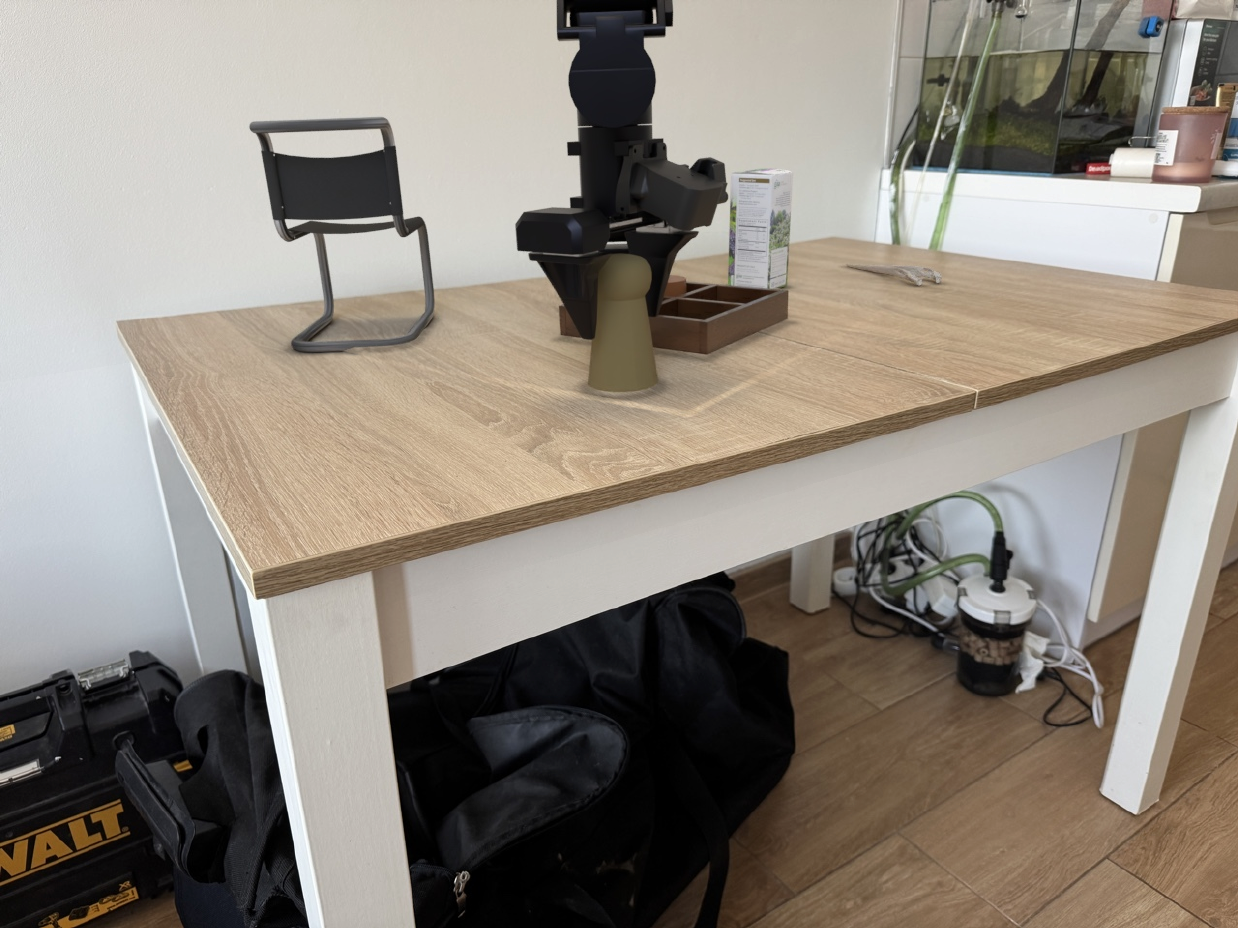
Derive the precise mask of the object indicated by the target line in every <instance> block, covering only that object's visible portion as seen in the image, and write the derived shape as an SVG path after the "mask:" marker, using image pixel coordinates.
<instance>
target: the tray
mask: <svg viewBox="0 0 1238 928" xmlns="http://www.w3.org/2000/svg"><path fill="white" fill-rule="evenodd" d="M789 292H790V291H789V290H788V289H782V288H773V289H769V288H757V287H745V286H733V285H728V284H720V283H708V282H698V281H697V282H696V281H686V293H685V294H682V295H679V296H676V297H671V296H664V297H663V301H662V304H661V307H660V311H659V314H658V316H657V317H648V318H649V324H650V331H651V338H652V344H653V349H655V348H656V349H661V350H671V351H678V352H683V353H684V352H686V353H693V354H701V355H709V354H711V353H714V352H716V351H718V350H720V349H723V348H726V347H727V346H729V345H731V344H734V343H737V342H739V341H741V340H744V339H745V338H747V337H750V336H753V335H754V334H756V333H758V332H761V331H763V330H765V329H768V328H770V327H772V326H775V325H776V324H779V323H781V322H783V321H785V320H788V317H789V315H788V314H789ZM558 315H559V333H560V334H559V335H560V336H564V337H571V338H572V337H573V338H579V339H580V338H581V336H580V334H579V332H578V331H577V329H576V327H575V325H574V323H573V321H572V319H571V318H570V316H569V314H568V312H567V310H566V308H565V306H564V305H563V304H560V305H558ZM581 339H582V338H581Z"/></svg>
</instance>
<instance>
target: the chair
mask: <svg viewBox="0 0 1238 928" xmlns="http://www.w3.org/2000/svg"><path fill="white" fill-rule="evenodd" d="M248 129H249V131H251V133H253V134H255V136H256V137H257V139H258V141H259V144H260V149H261V150H260V153H261V158H262V164H263V169H264V175H265V179H266V180H265V181H266V185H267V186H266V187H267V192H268V199H269V204H270V210H271V216H272V220H273V224H274V227H275V230H276V232H277V234H278V236H279V237H280V238H281V239H282V240H283V241H284V242H286V243H290V242H291V243H292V242H293V241H296V240H298V239H300V238H302V237H305V236H307V235H309V234H310V235H311V234H313V239H314V242H315V248H316V255H317V261H318V268H319V275H320V281H321V287H322V295H323V303H324V304H323V305H324V306H323V307H324V308H323V314H322V315H321V316H320V317H319V318H317V319H316V320H315V321H314V322H312V323H311V324H310V325H309V326H308V327H306V328H305V329H303V330H302V331H300V333H298V334H297V335H295V336H294V337H293V338H292V340H291V342H290V345H291V347H292V348H293V350H295V351H297V352H303V353H326V352H329V353H330V352H344V351H347V350H351V349H355V348H374V347H375V348H376V347H389V346H390V347H391V346H397V345H403V344H406V343H410V342H412V341H414V340H416V339H418V337H419V335H420V334H421V332H422V331H423V330H424V329H425V328H427V326H428V324H429V323H430V322H431V320H432V319H433V317H434V315H435V307H436V306H435V305H436V304H435V303H436V302H435V300H436V299H435V288H434V280H433V270H432V262H431V261H432V260H431V250H430V242H429V234H428V228H427V225H426V222H425V220H424V219H423V218H422V216H414V217H409V218H405V217H404V207H403V198H402V191H401V181H400V171H399V164H398V155H397V147H396V143H395V137H394V136H395V135H394V132H393V127H392V126H391V123H390V121H389V119H387V118H386V117H384V116H365V117H337V118H334V117H333V118H312V119H311V118H310V119H309V118H307V119H283V120H256V121H251V122H250V123H249V126H248ZM361 130H362V131H363V130H364V131H365V130H380V134H381V137H382V142H383V149H380V150H375V151H371V152H367V153H362V154H354V155H346V156H336V157H335V156H333V157H311V156H310V157H309V156H300V155H289V154H285V153H280V152H275V151H274V147H273V143H272V139H271V136H270V134H279V133H281V134H283V133H284V134H285V133H307V132H308V133H309V132H311V133H312V132H332V131H333V132H334V131H336V132H337V131H361ZM390 216H391V217H392V220H391V221H385V222H371V223H370V222H369V223H339V222H328V221H342V220H360V219H370V218H371V219H373V218H380V217H390ZM286 220H293V221H306V222H303V223H300V224H297V225H295V226H292V227H288V225H287V223H286ZM326 221H327V222H326ZM389 229H390V230H391V229H395V230H396V231H395V232H396V233H397V234H398V236H399V237H400V238H408V237H409V236H410V235H411V234H413V233H414V232H417V236H418V243H419V252H420V260H421V269H422V270H421V271H422V278H423V290H424V300H425V301H424V302H425V303H424V304H425V306H424V312H423V313H422V314H421V316H420V317H419V318H418V319H417V321H416V322H415V323H414V325H413V326H412V327H411V328H410V329H409V331H408V332H407V333H406V334H404V335H399V336H395V337H388V338H371V339H368V338H367V339H348V340H347V339H346V340H345V339H344V340H322V341H321V340H320V341H309V340H310V339H311V338H313V337H314V336H315V335H316V334H318V333H319V332H320V331H321V330H323V329H324V328H325V327H326V326H328V325H329V324H330V323H331V322H332V320H333V318H334V312H335V301H334V300H335V299H334V292H333V285H332V279H331V278H332V277H331V272H330V266H329V259H328V253H327V245H326V240H325V235H351V234H362V233H363V234H364V233H372V232H378V231H379V232H380V231H384V230H385V231H386V230H389Z"/></svg>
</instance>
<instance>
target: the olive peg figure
mask: <svg viewBox="0 0 1238 928" xmlns="http://www.w3.org/2000/svg"><path fill="white" fill-rule="evenodd" d="M651 280H652V272H651V268H650V265H649V264H648V262H647V260H646V259H644V258H642V257H641V256H637V255H632V254H612V255H611V257H610V258H609V259H608V261H607V262H606V263H605V265H604V266H603V267H602V269H601V270H600V271H599V274H598V297H597V324H596V333H595V338H594V339H592V340H591V343H590V344H591V345H590V357H589V369H588V379H587V384H588V386H589V387H590V388H592V389H593V390H596V391H602V392H607V393H608V392H609V393H627V392H628V393H629V392H638V391H643V390H647V389H651V388H653V387H655V386H656V385H658V383H659V377H658V371H657V365H656V359H655V358H656V357H655V352H654V347H653V344H652V338H651V331H650V324H649V318H648V311H647V305H646V298H645V295H646V293H647V292H648V290H649V289H650V284H651ZM603 397H606V396H603Z"/></svg>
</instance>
